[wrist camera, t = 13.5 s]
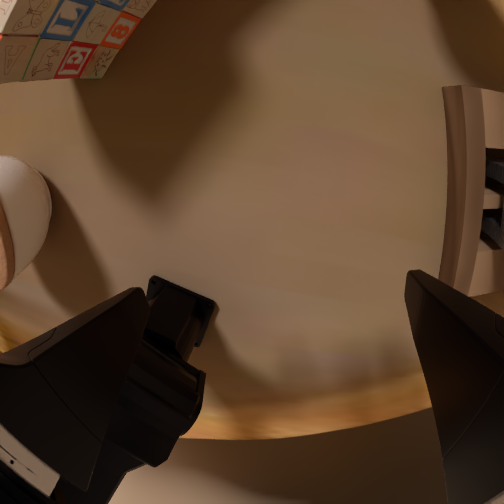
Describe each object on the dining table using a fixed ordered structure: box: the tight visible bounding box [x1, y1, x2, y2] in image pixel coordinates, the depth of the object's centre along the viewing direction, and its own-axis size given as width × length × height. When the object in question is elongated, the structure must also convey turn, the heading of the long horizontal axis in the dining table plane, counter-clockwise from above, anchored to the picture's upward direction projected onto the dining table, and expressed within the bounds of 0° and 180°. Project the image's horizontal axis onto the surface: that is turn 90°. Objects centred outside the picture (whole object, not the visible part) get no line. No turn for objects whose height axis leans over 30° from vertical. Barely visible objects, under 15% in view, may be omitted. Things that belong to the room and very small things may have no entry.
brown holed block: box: [438, 85, 504, 297], centre depth 16 cm, size 10×16×3 cm, turn 10°
